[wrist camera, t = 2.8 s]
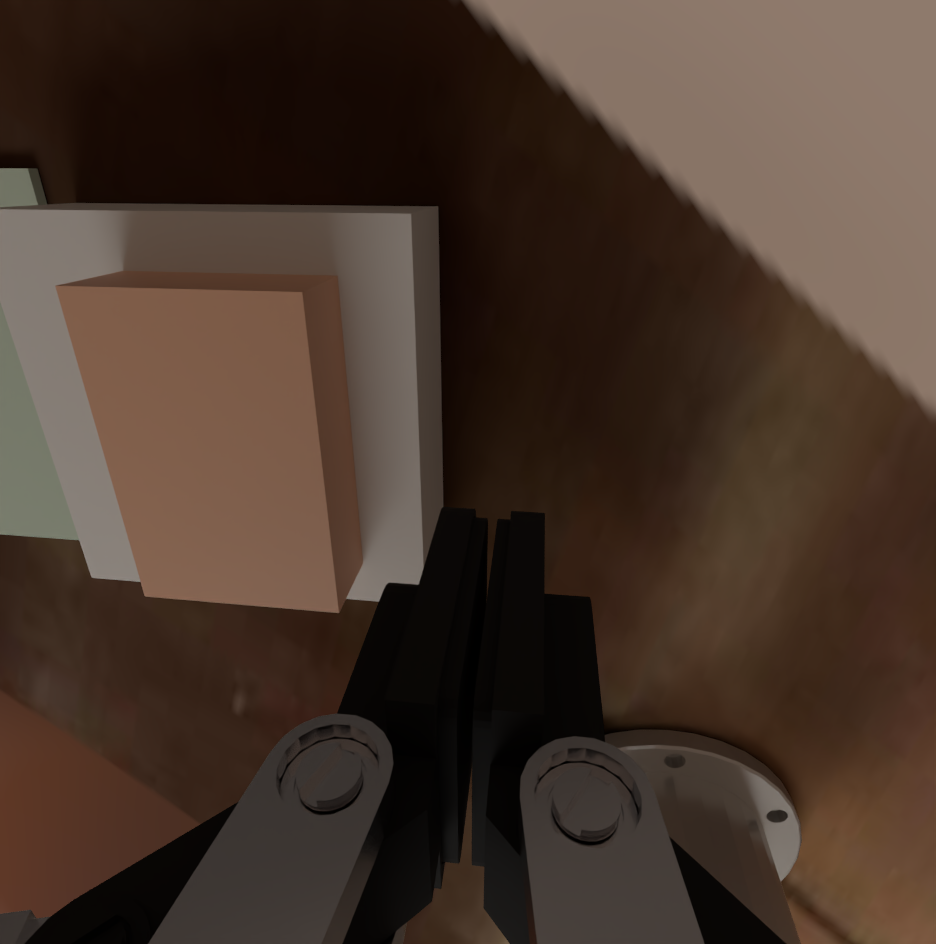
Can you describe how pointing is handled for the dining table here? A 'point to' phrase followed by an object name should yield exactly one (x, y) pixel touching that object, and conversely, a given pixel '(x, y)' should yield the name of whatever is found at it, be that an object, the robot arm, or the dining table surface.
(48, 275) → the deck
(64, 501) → the mat
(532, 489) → the dining table surface
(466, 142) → the dining table surface
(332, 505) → the salmon rectangular block
